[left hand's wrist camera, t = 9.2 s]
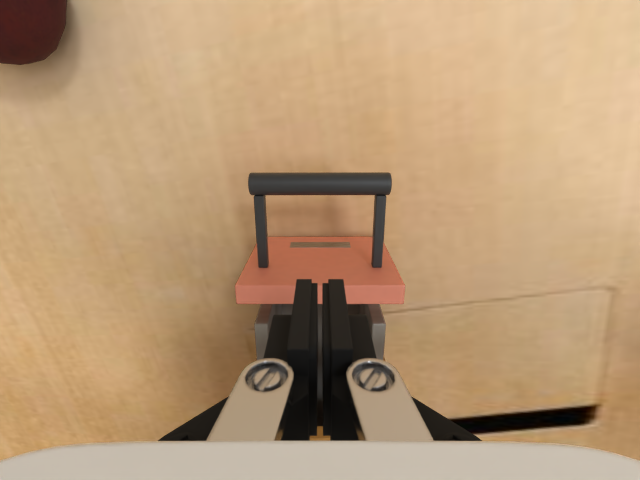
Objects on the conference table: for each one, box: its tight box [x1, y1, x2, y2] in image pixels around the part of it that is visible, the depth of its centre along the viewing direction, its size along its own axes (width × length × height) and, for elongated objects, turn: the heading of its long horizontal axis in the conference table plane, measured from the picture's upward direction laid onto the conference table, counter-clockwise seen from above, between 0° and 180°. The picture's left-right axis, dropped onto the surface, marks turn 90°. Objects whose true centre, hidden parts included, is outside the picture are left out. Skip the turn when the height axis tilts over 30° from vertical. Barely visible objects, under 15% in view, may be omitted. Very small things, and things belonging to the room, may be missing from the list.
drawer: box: [235, 173, 405, 426], centre depth 26 cm, size 24×10×8 cm, turn 0°
